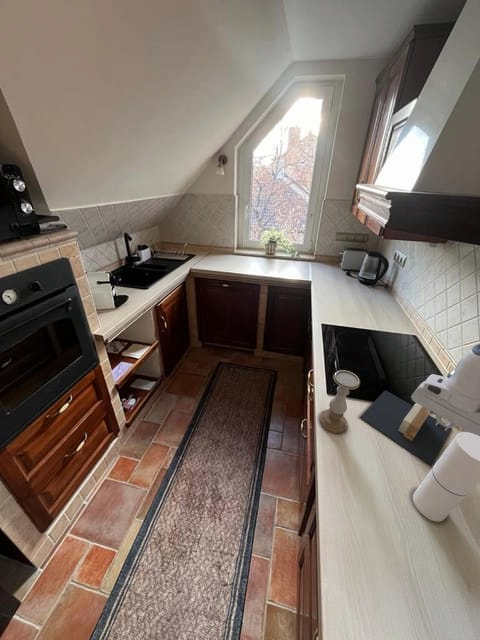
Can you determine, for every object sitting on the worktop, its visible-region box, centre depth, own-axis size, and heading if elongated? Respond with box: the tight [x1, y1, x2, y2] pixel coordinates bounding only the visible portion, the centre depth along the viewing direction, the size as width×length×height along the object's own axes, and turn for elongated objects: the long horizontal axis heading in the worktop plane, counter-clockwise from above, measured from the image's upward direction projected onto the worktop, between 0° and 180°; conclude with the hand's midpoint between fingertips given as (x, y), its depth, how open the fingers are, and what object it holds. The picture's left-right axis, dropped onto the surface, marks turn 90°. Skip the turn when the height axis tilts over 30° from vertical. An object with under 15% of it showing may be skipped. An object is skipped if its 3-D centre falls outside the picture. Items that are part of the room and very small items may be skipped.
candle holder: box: [319, 369, 361, 434], centre depth 82 cm, size 9×9×20 cm
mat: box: [359, 389, 452, 467], centre depth 87 cm, size 22×20×1 cm
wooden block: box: [398, 402, 432, 441], centre depth 84 cm, size 4×12×6 cm, turn 130°
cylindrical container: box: [412, 431, 480, 523], centre depth 59 cm, size 7×7×25 cm
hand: (441, 426), depth 78 cm, fingers closed
